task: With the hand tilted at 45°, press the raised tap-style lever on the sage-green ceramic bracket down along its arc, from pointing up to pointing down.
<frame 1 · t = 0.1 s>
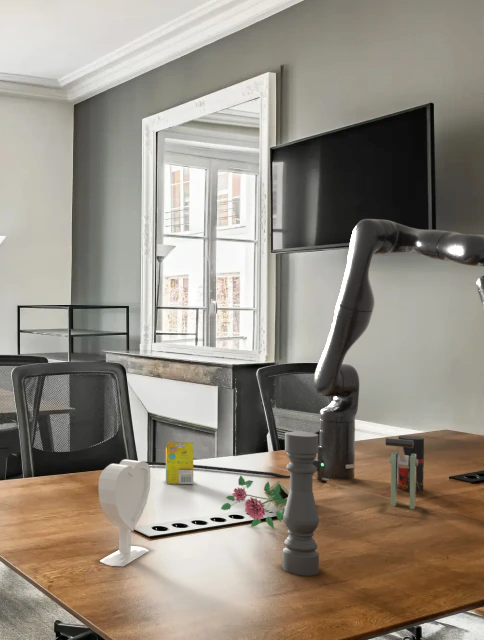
deodorant: (410, 494, 195), on the table
crayon box: (179, 483, 206), on the table
candle holder: (300, 570, 136), on the table
bracket: (403, 511, 178), on the table
flower vase: (277, 522, 168), on the table
heart sculpture: (124, 556, 143), on the table
lever: (401, 452, 173), point 15 cm above the table, hinge at 28.0°
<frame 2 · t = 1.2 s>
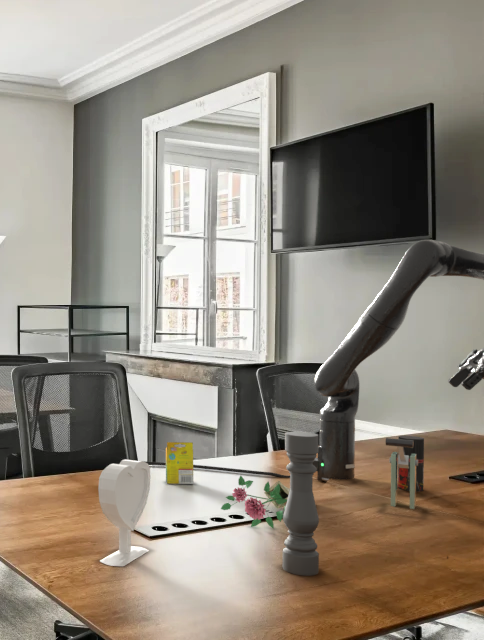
hand: (458, 385, 166), 31 cm above the table, tool tilted 45°, fingers open, 5 cm apart
nothing on the table moved.
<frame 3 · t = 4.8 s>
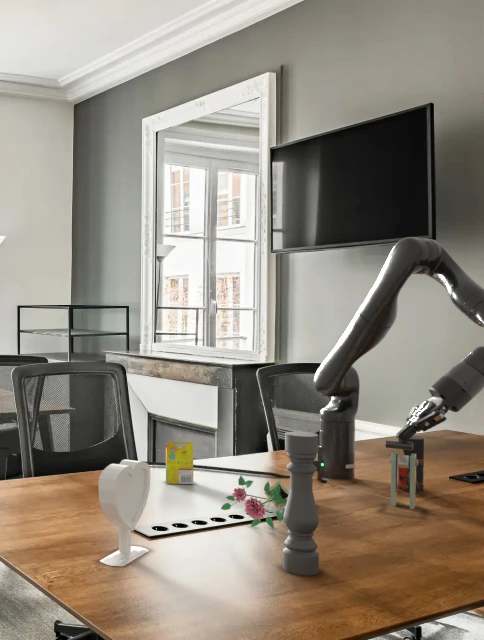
hand: (399, 439, 167), 19 cm above the table, tool tilted 45°, fingers closed
lever: (401, 454, 173), point 15 cm above the table, hinge at 25.4°, touching gripper
everything else where it was.
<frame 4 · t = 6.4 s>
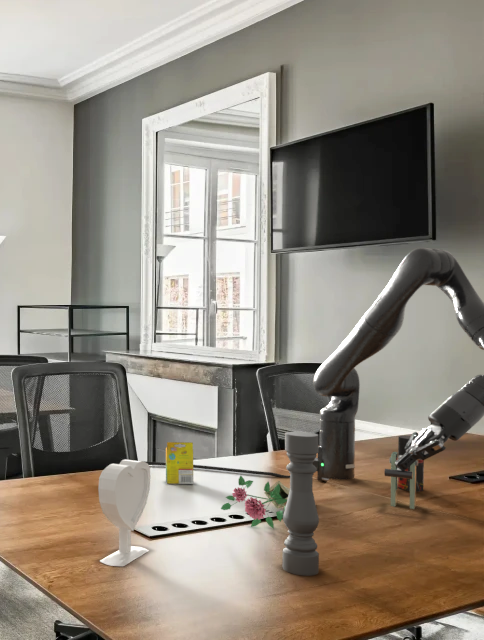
hand: (398, 467, 167), 13 cm above the table, tool tilted 45°, fingers closed
lever: (401, 467, 173), point 12 cm above the table, hinge at -3.1°, touching gripper
everything else where it was.
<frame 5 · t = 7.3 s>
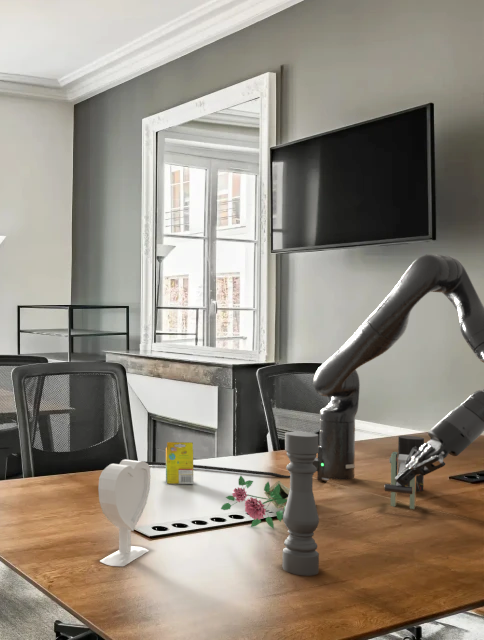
hand: (398, 482, 167), 9 cm above the table, tool tilted 45°, fingers closed
lever: (401, 474, 173), point 10 cm above the table, hinge at -19.3°, touching gripper
everything else where it was.
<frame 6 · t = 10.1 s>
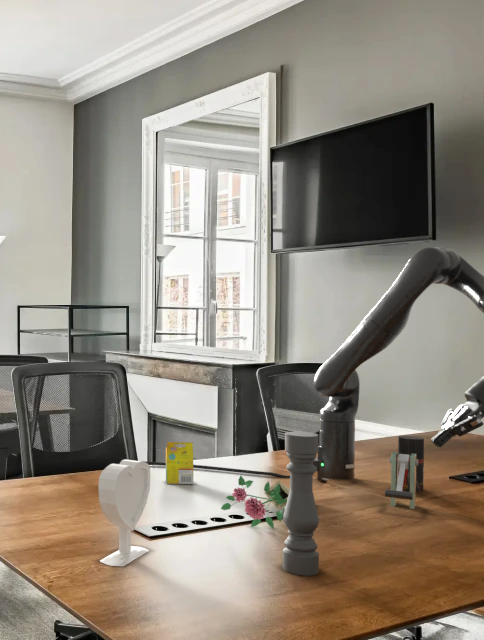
hand: (434, 444, 167), 18 cm above the table, tool tilted 45°, fingers closed
lever: (401, 476, 173), point 9 cm above the table, hinge at -25.9°
everything else where it was.
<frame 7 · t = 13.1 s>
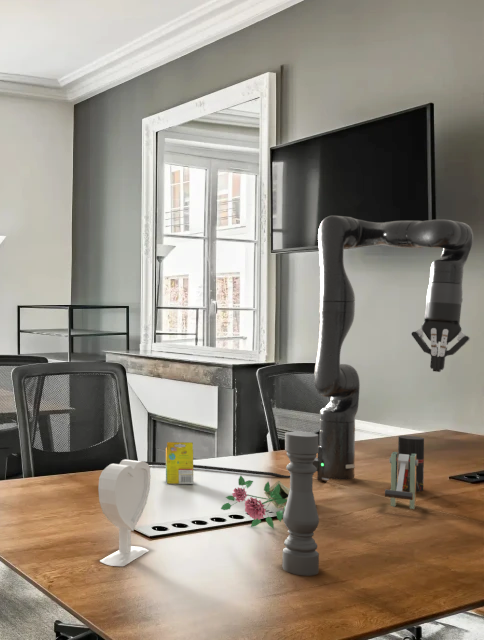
hand: (436, 371, 183), 33 cm above the table, tool pointing down, fingers closed
nothing on the table moved.
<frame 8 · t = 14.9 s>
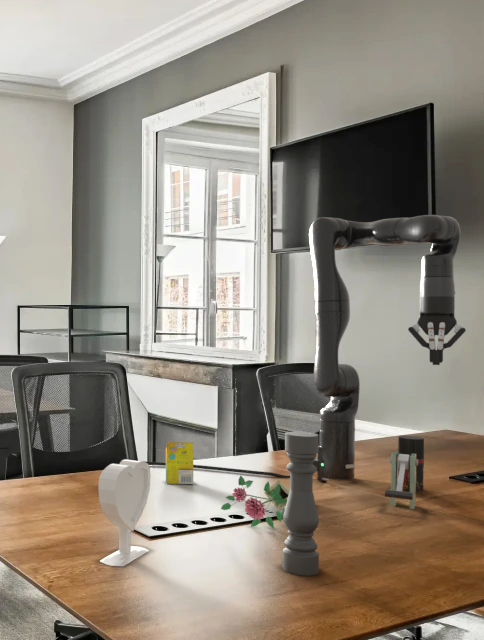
hand: (436, 364, 184), 35 cm above the table, tool pointing down, fingers closed
nothing on the table moved.
at the end: lever at -26° (first picture: +28°); lever reached -26° during the clip, -26° at the end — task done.
